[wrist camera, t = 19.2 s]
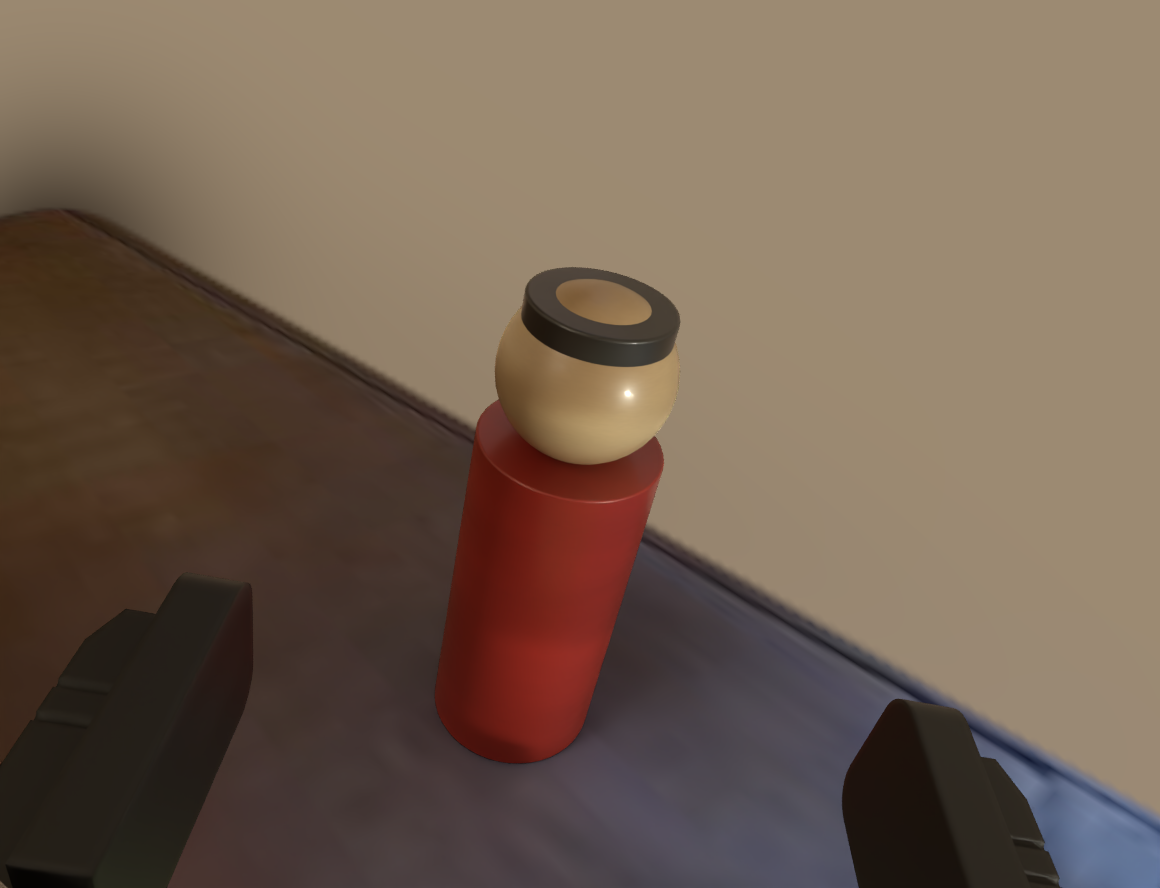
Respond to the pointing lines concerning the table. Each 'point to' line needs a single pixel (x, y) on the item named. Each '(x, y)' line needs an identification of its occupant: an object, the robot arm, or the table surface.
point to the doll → (555, 509)
